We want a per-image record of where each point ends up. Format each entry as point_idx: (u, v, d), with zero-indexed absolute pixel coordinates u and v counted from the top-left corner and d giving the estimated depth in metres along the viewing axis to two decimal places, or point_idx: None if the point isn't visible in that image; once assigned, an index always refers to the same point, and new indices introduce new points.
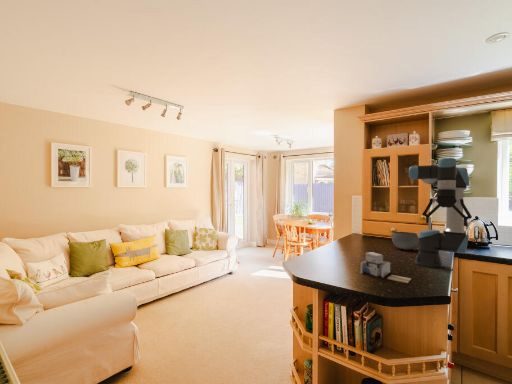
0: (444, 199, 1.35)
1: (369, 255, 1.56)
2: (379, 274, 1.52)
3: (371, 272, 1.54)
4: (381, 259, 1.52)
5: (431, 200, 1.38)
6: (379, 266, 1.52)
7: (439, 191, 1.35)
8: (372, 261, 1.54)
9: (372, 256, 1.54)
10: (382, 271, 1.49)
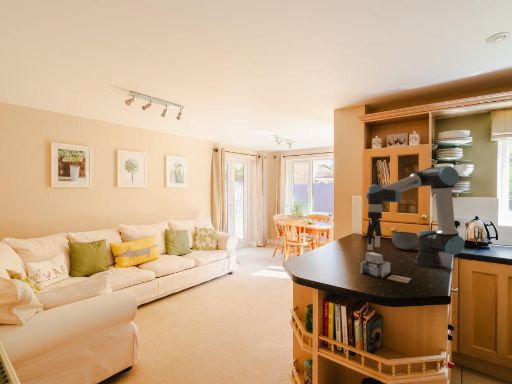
0: None
1: (369, 255, 1.56)
2: (379, 274, 1.52)
3: (371, 272, 1.54)
4: (381, 259, 1.52)
5: None
6: (379, 266, 1.52)
7: None
8: (371, 261, 1.54)
9: (372, 256, 1.54)
10: (382, 271, 1.49)
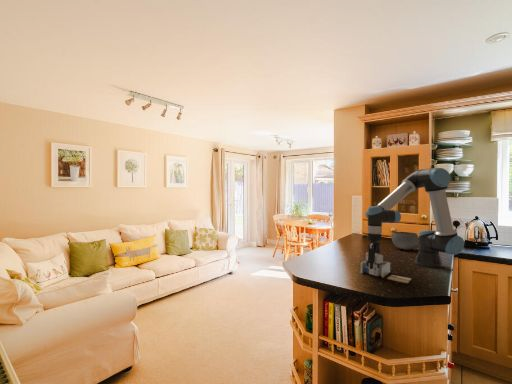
0: None
1: None
2: (379, 274, 1.52)
3: None
4: (381, 259, 1.52)
5: None
6: (379, 266, 1.52)
7: None
8: None
9: None
10: (382, 271, 1.49)
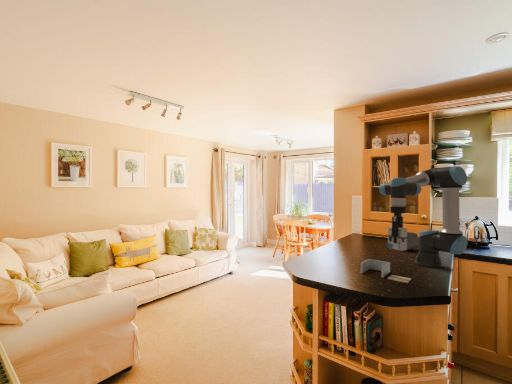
0: None
1: None
2: (403, 249, 1.44)
3: None
4: (405, 233, 1.44)
5: None
6: (404, 240, 1.44)
7: None
8: None
9: None
10: (382, 271, 1.49)
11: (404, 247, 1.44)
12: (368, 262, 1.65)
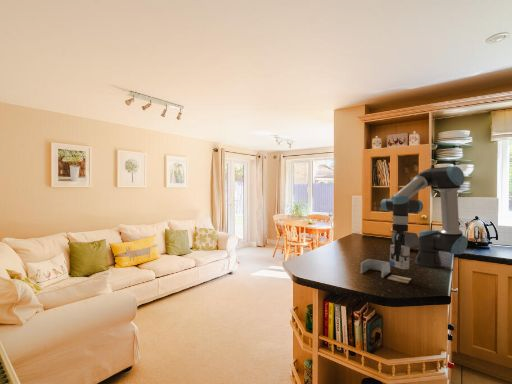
0: None
1: None
2: (406, 267, 1.43)
3: None
4: (408, 251, 1.43)
5: None
6: (406, 258, 1.43)
7: None
8: None
9: None
10: (382, 271, 1.49)
11: (406, 266, 1.43)
12: (368, 262, 1.65)
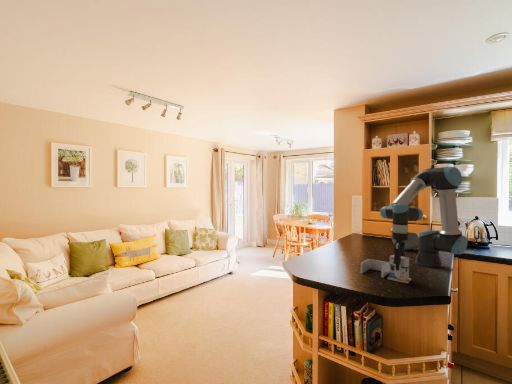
0: None
1: None
2: (406, 278, 1.43)
3: (397, 276, 1.44)
4: (408, 262, 1.44)
5: None
6: (407, 269, 1.43)
7: None
8: None
9: None
10: (382, 271, 1.49)
11: (407, 277, 1.43)
12: (368, 262, 1.65)
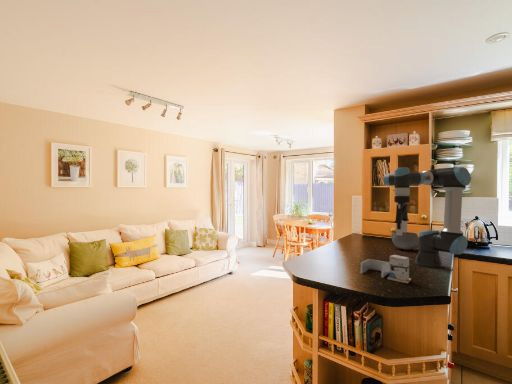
0: None
1: (394, 258, 1.46)
2: (406, 278, 1.43)
3: (397, 276, 1.44)
4: (408, 262, 1.44)
5: None
6: (407, 269, 1.43)
7: None
8: (398, 265, 1.44)
9: (399, 259, 1.44)
10: (382, 271, 1.49)
11: (407, 277, 1.43)
12: (368, 262, 1.65)
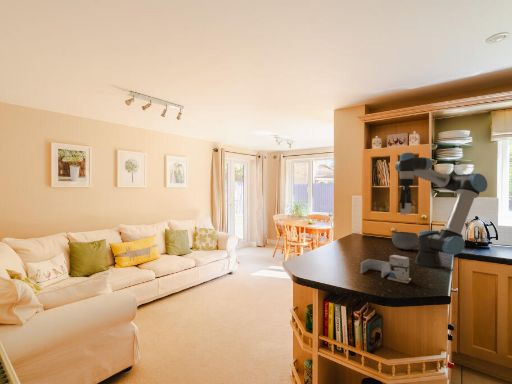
0: None
1: (394, 258, 1.46)
2: (406, 278, 1.43)
3: (397, 276, 1.44)
4: (408, 262, 1.44)
5: None
6: (407, 269, 1.43)
7: None
8: (398, 265, 1.44)
9: (399, 259, 1.44)
10: (382, 271, 1.49)
11: (407, 277, 1.43)
12: (368, 262, 1.65)
